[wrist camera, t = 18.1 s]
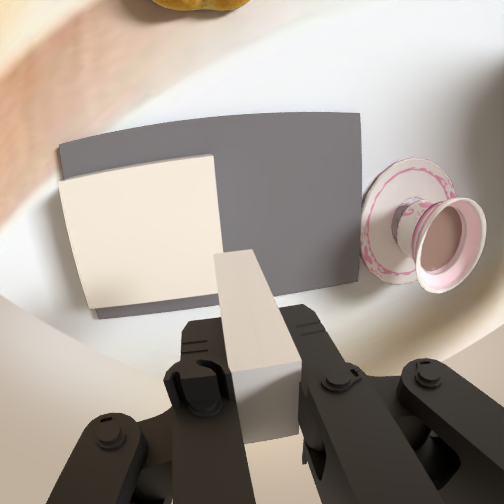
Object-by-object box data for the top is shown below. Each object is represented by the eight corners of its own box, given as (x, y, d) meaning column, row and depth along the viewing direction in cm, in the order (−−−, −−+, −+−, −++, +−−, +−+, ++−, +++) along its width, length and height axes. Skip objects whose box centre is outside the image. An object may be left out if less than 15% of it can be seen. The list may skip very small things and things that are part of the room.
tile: (210, 153, 21) (72, 176, 19) (213, 155, 18) (57, 182, 17) (223, 275, 24) (98, 291, 22) (227, 291, 21) (89, 309, 20)
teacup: (376, 304, 29) (410, 339, 23) (336, 193, 24) (377, 212, 18) (461, 244, 29) (500, 266, 23) (438, 138, 24) (487, 145, 18)
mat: (62, 144, 19) (59, 144, 18) (356, 113, 22) (359, 113, 21) (100, 315, 24) (98, 319, 23) (354, 278, 27) (357, 281, 26)
